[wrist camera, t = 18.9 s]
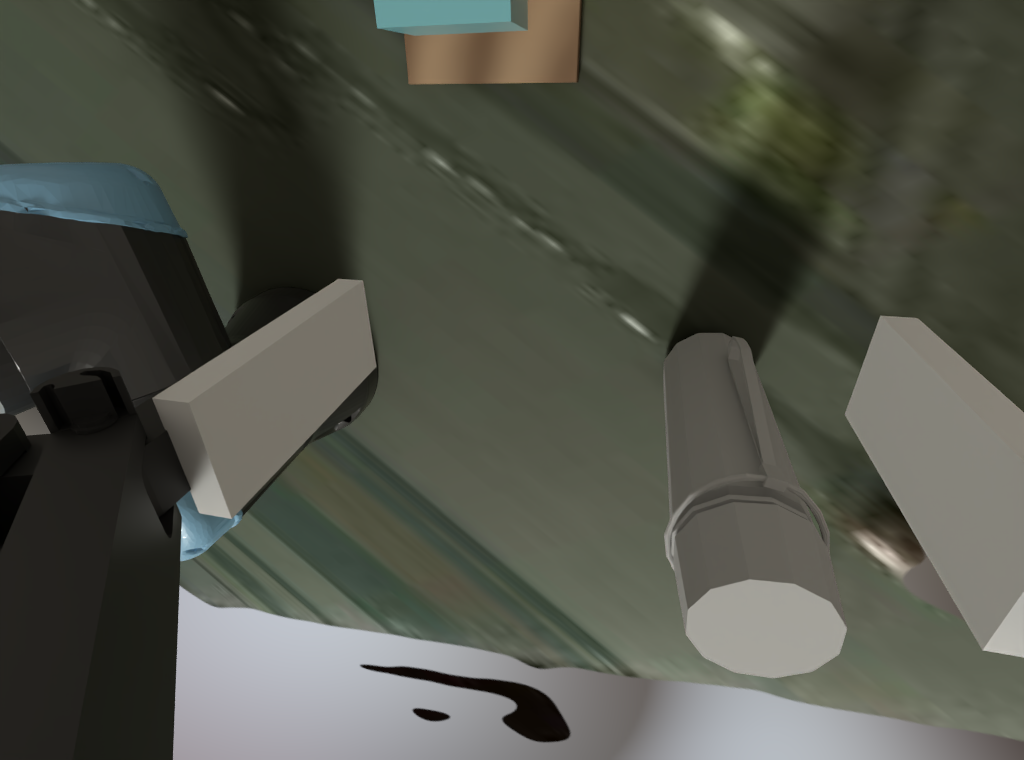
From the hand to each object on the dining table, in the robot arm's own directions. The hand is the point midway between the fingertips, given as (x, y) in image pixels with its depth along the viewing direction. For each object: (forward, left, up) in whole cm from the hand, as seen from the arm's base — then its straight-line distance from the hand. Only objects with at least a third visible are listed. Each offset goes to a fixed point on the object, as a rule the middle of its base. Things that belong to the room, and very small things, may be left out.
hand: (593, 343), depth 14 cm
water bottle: (+8, -14, -29) cm, 33 cm away
